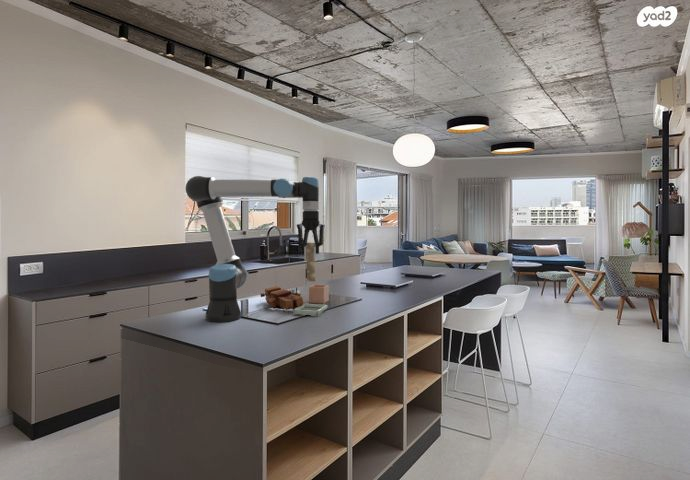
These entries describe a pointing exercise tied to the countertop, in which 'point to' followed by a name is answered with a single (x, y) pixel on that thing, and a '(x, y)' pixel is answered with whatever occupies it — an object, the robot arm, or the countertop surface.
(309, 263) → the cream tall column
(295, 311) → the tray
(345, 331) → the countertop surface
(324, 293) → the pink cube
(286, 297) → the brown chunky pile
